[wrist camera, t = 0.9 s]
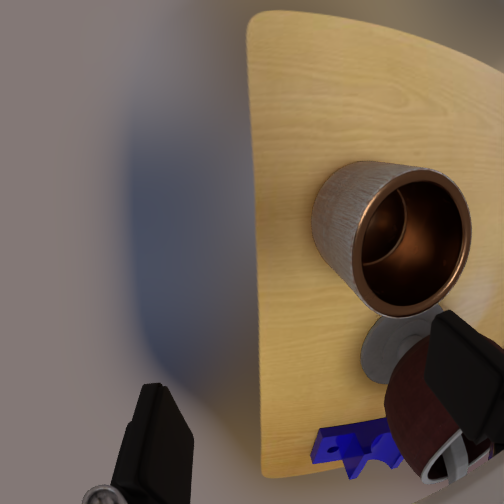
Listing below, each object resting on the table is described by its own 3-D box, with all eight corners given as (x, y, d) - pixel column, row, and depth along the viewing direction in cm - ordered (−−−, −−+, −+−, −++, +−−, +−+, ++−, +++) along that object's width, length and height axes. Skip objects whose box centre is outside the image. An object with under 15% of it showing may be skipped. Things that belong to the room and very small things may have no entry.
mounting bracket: (423, 408, 37) (440, 432, 31) (407, 435, 39) (421, 459, 34) (319, 428, 36) (330, 461, 30) (310, 455, 38) (318, 485, 32)
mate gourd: (370, 291, 29) (492, 428, 10) (460, 290, 31) (571, 377, 12) (338, 399, 34) (392, 531, 15) (423, 386, 35) (490, 483, 16)
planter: (304, 273, 28) (337, 326, 19) (312, 155, 25) (356, 155, 16) (401, 271, 29) (455, 313, 20) (415, 167, 26) (481, 178, 17)
